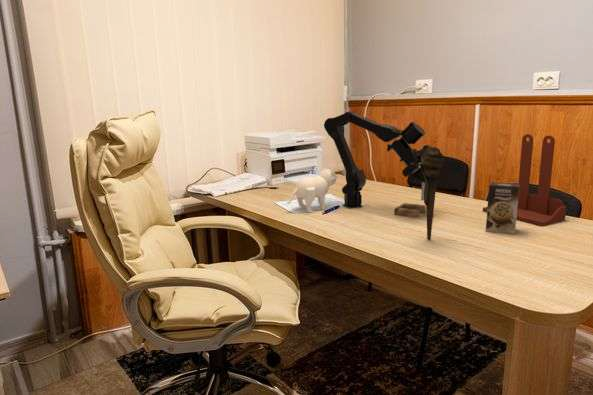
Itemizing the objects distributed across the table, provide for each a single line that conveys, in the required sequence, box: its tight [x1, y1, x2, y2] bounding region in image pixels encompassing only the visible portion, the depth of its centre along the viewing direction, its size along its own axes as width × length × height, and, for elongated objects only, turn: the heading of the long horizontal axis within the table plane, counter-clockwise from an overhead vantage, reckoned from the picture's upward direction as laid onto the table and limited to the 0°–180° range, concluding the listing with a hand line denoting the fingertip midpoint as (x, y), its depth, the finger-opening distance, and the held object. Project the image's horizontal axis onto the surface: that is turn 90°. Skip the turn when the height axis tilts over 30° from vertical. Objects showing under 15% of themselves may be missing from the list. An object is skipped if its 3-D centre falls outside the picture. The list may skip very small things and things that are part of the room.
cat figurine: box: [285, 167, 338, 213], centre depth 178 cm, size 25×10×17 cm, turn 115°
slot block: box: [393, 202, 427, 219], centre depth 168 cm, size 9×10×2 cm
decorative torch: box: [421, 146, 445, 241], centre depth 134 cm, size 7×7×30 cm
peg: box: [420, 181, 425, 201], centre depth 162 cm, size 4×4×12 cm
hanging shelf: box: [482, 133, 567, 227], centre depth 156 cm, size 24×13×30 cm, turn 27°
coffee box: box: [484, 181, 520, 235], centre depth 142 cm, size 9×6×16 cm
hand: (432, 183), depth 161 cm, fingers closed on peg, 4 cm apart
